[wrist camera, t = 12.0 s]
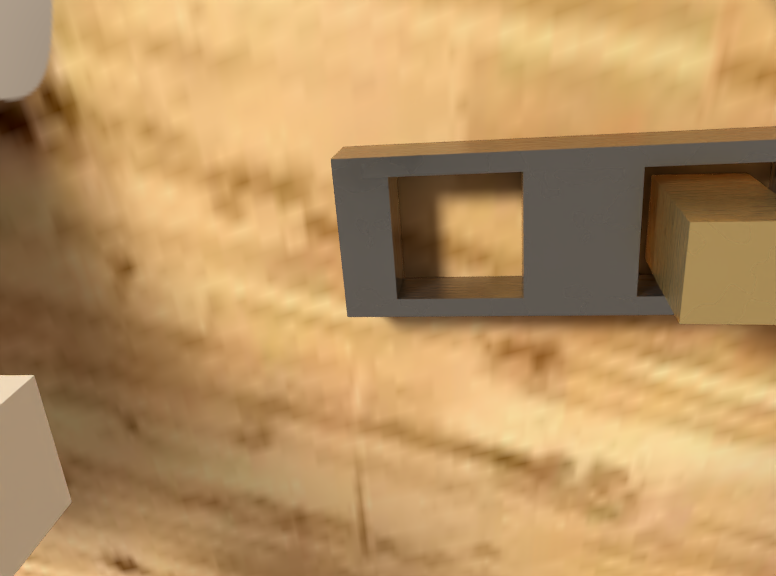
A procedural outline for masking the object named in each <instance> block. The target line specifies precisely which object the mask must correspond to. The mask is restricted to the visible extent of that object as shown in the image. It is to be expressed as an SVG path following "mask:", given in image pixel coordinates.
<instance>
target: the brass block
mask: <svg viewBox="0 0 776 576" xmlns="http://www.w3.org/2000/svg"><path fill="white" fill-rule="evenodd" d="M645 260H646V262H647V264H648V266H649V268H650V270H651V271H652V273H653V275H654V277H655V279H656V281H657V283H658V285H659V287H660V289H661V290H662V292H663V294H664V296H665V298H666V300H667V302H668V304H669V306H670V307H671V309H672V311H673V313H674V315H675V317H676V319H677V321H678V323H679V324H737V325H776V194H775V193H774V192H772V191H771V190H770V189H768V188H767V187H766V186H764V185H763V184H762V183H760V182H759V181H758V180H756V179H755V178H754V177H752V176H751V175H750V174H748V173H717V174H671V175H652V179H651V191H650V203H649V215H648V227H647V239H646V251H645Z"/></svg>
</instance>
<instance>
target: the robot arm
mask: <svg viewBox="0 0 776 576" xmlns="http://www.w3.org/2000/svg"><path fill="white" fill-rule="evenodd" d="M71 502H72V500H71V497H70V494H69V490H68V487H67V484H66V480H65V477H64V473H63V470H62V467H61V463H60V460H59V457H58V453H57V450H56V447H55V443H54V440H53V436H52V433H51V430H50V426H49V423H48V420H47V416H46V413H45V410H44V406H43V403H42V399H41V396H40V393H39V389H38V386H37V383H36V379H35V376H34V375H0V576H14V575H15V573H16V572H17V571H18V570H19V568H20V567H21V566H22V565H23V563H24V562H25V561H26V559H27V558H28V557H29V556H30V554H31V553H32V552H33V551H34V549H35V548H36V547H37V546H38V544H39V543H40V542H41V540H42V539H43V538H44V537H45V535H46V534H47V533H48V532H49V530H50V529H51V528H52V527H53V525H54V524H55V523H56V521H57V520H58V519H59V518H60V516H61V515H62V514H63V513H64V511H65V510H66V509H67V508H68V506H69V505H70V504H71Z"/></svg>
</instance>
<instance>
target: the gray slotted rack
mask: <svg viewBox="0 0 776 576" xmlns="http://www.w3.org/2000/svg"><path fill="white" fill-rule="evenodd" d="M757 162H772V167H771V174H770V182H769V189H770V190H771V191H772V192H774V193H775V194H776V126H774V127H753V128H732V129H711V130H690V131H669V132H648V133H626V134H605V135H584V136H563V137H542V138H521V139H500V140H479V141H457V142H436V143H415V144H394V145H373V146H352V147H343V148H342V149H341V150H340V151H339V152H338V153H337V154H336V155H335V156H334V157H333V158H332V159H331V166H332V176H333V185H334V194H335V204H336V213H337V223H338V232H339V241H340V251H341V260H342V269H343V279H344V288H345V297H346V307H347V316H348V317H418V316H571V315H674V313H673V311H672V309H671V307H670V306H669V304H668V302H667V300H666V298H665V296H664V294H663V292H662V290H661V289H660V287H659V285H658V283H657V281H656V279H655V277H654V275H653V274H638V269H639V252H640V236H641V220H642V204H643V188H644V172H645V167H656V166H681V165H706V164H732V163H757ZM505 172H522V276H499V277H436V278H404V266H403V252H402V238H401V224H400V210H399V196H398V182H397V177H404V176H429V175H454V174H480V173H505Z"/></svg>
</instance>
